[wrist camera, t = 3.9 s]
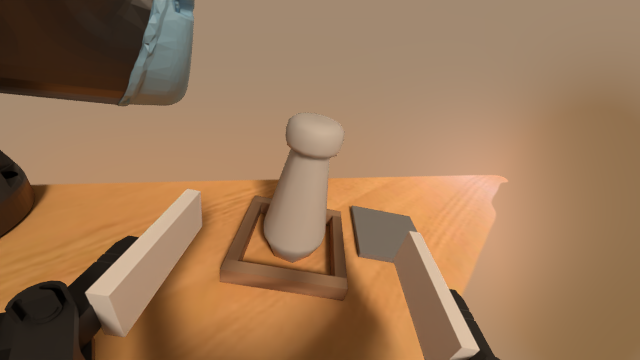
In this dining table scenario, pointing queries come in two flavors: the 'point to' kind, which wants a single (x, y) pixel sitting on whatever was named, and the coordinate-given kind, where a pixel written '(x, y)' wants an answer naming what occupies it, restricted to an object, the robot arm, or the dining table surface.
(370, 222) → the charcoal coaster
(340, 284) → the walnut collar
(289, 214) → the salt shaker
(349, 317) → the dining table surface
